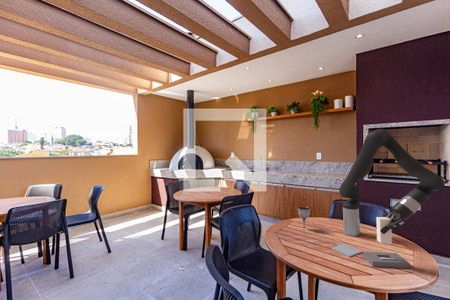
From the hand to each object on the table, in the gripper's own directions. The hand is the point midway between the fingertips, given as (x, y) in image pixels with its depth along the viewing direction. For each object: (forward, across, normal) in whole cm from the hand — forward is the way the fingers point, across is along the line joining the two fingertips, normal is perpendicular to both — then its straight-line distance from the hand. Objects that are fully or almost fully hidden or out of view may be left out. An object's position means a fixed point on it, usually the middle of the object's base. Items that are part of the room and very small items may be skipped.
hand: (379, 230), depth 109 cm
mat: (+19, -11, +3) cm, 22 cm away
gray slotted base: (+10, 0, +12) cm, 16 cm away
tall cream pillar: (+2, 0, +5) cm, 6 cm away
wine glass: (+31, -43, -9) cm, 54 cm away
